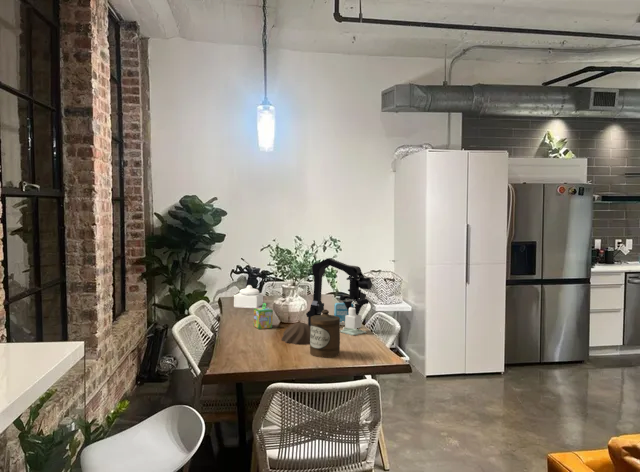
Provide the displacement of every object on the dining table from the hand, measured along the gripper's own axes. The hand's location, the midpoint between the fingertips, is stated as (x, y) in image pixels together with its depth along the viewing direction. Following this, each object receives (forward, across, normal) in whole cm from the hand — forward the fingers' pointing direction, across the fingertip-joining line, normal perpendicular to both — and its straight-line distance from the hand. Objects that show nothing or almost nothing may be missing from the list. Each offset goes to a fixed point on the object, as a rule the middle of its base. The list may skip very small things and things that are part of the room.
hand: (353, 314), depth 290 cm
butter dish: (+12, +110, +2) cm, 110 cm away
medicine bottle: (+8, 0, 0) cm, 8 cm away
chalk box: (+12, +43, +35) cm, 57 cm away
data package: (+12, +27, -18) cm, 34 cm away
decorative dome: (+12, +5, +36) cm, 38 cm away
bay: (+11, +13, -5) cm, 18 cm away
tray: (+11, 0, 0) cm, 11 cm away
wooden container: (+11, -23, +43) cm, 50 cm away
